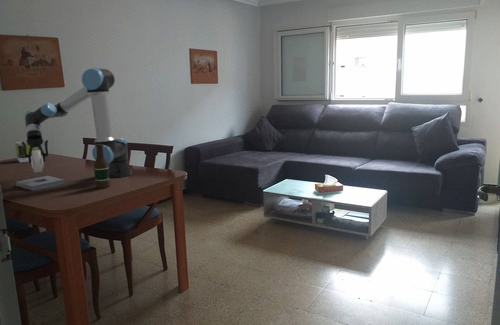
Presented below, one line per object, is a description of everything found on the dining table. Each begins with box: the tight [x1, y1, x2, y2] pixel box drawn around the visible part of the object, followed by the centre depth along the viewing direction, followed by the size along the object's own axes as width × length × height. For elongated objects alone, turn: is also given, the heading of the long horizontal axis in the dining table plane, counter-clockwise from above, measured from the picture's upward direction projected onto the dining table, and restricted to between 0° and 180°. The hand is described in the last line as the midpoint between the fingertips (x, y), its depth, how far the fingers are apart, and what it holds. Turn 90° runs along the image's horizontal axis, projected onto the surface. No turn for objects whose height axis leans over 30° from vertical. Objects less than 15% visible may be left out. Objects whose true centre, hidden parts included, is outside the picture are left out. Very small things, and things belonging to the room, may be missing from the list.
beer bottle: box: [93, 144, 111, 190], centre depth 211 cm, size 8×8×24 cm
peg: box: [32, 150, 44, 173], centre depth 216 cm, size 4×4×12 cm
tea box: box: [15, 140, 39, 163], centre depth 291 cm, size 15×10×15 cm
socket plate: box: [15, 175, 66, 191], centre depth 219 cm, size 18×18×2 cm
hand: (37, 166), depth 214 cm, fingers closed on peg, 4 cm apart
